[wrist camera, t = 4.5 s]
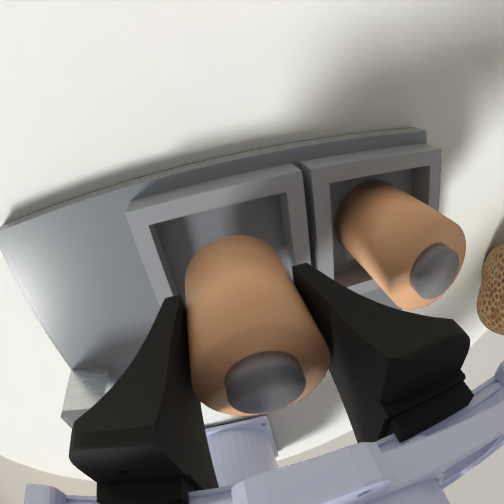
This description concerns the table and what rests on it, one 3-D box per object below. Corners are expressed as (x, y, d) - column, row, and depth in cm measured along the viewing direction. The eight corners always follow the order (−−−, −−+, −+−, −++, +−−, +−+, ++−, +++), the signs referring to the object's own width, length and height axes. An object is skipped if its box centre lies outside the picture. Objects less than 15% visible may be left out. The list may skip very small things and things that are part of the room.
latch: (121, 382, 19) (118, 431, 16) (85, 387, 19) (77, 434, 15) (109, 363, 18) (102, 414, 15) (71, 369, 18) (60, 417, 14)
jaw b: (292, 300, 15) (341, 401, 10) (205, 330, 15) (222, 440, 10) (270, 220, 13) (329, 316, 8) (168, 256, 13) (166, 371, 8)
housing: (403, 296, 22) (427, 321, 20) (89, 377, 20) (83, 411, 17) (413, 127, 16) (449, 138, 13) (2, 224, 14) (-25, 252, 11)
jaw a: (400, 242, 18) (463, 299, 13) (336, 260, 18) (391, 330, 13) (402, 173, 16) (481, 216, 11) (332, 186, 16) (402, 240, 10)
